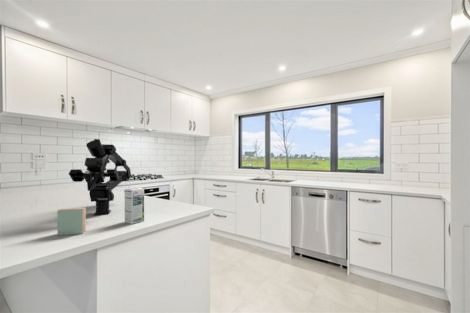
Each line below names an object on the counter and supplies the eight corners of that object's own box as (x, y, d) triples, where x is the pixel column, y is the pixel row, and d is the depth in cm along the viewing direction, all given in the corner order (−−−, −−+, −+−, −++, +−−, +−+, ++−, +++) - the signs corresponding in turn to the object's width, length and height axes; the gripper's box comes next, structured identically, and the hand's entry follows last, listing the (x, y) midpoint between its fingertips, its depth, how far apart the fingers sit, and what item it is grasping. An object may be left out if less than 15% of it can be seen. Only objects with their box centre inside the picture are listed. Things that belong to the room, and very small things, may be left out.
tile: (60, 233, 77) (61, 208, 77) (85, 231, 79) (85, 207, 79) (56, 235, 75) (57, 210, 75) (82, 233, 76) (82, 209, 77)
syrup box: (132, 224, 87) (132, 189, 87) (123, 222, 90) (124, 188, 90) (144, 221, 92) (144, 187, 92) (136, 218, 95) (136, 186, 95)
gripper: (71, 151, 93) (55, 178, 83) (117, 151, 97) (108, 178, 87) (79, 168, 101) (66, 195, 90) (122, 168, 105) (114, 193, 94)
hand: (88, 190), depth 90 cm, fingers closed
